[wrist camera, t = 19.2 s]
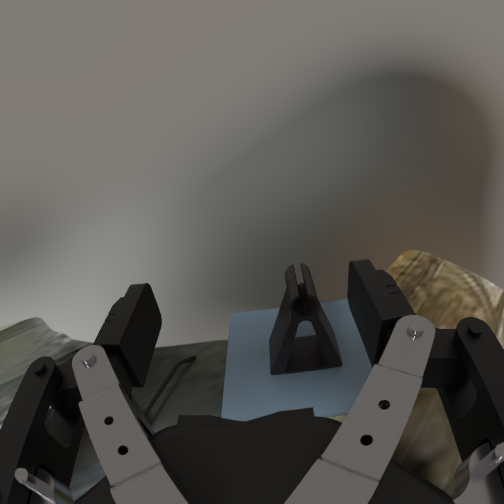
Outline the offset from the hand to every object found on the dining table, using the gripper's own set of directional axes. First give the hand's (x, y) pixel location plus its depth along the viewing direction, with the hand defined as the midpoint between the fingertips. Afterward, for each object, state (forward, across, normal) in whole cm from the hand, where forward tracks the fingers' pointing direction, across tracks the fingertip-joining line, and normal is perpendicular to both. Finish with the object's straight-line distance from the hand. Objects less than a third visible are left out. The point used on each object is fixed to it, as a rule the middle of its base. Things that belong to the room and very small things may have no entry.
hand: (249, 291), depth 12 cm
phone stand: (+17, -4, +24) cm, 30 cm away
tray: (+18, -4, +24) cm, 30 cm away
